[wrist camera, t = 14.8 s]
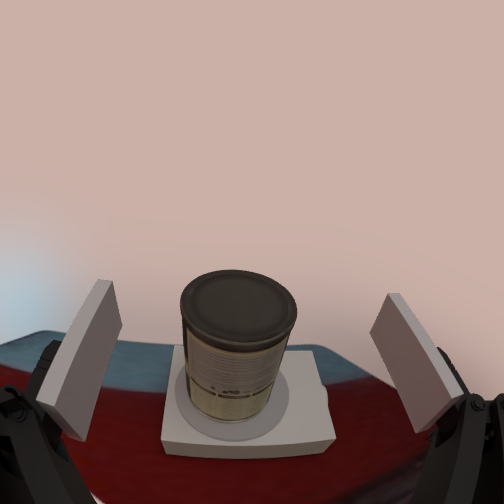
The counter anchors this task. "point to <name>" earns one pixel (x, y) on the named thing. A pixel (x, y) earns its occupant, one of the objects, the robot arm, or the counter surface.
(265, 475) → the counter surface
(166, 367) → the counter surface
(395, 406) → the counter surface
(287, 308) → the coffee can
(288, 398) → the kitchen scale
